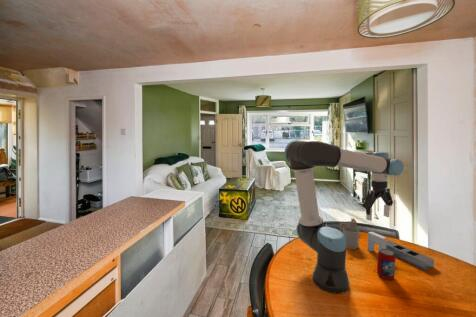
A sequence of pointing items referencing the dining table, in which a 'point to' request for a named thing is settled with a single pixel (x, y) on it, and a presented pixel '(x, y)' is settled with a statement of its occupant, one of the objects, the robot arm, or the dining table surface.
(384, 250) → the beverage can
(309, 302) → the dining table surface
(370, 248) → the upright white panel
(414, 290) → the dining table surface
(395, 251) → the block with rectangular holes
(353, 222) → the ruin model on sheet
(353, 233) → the cup
